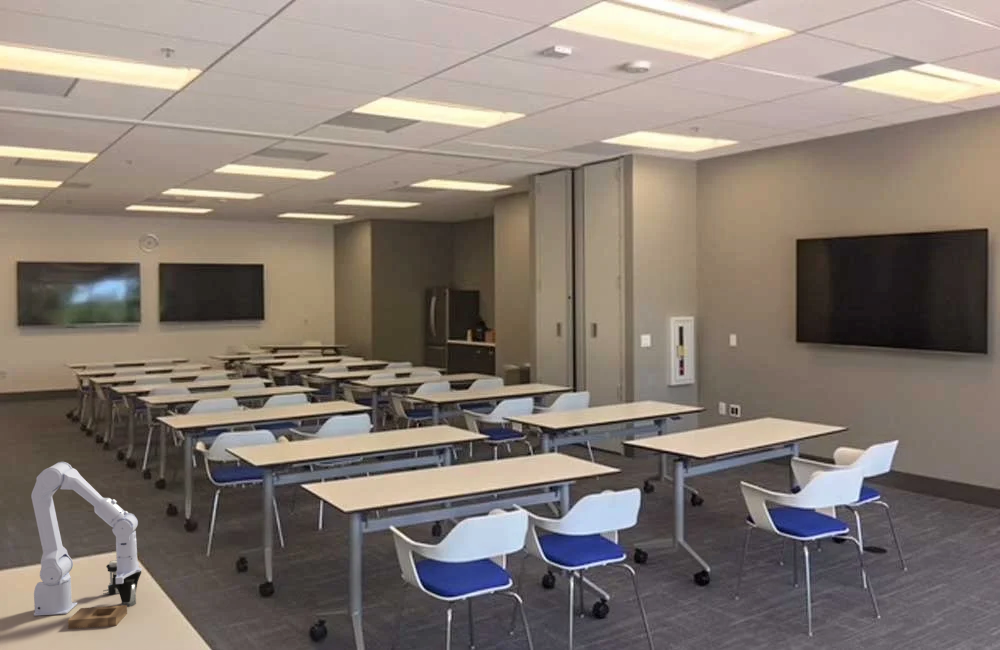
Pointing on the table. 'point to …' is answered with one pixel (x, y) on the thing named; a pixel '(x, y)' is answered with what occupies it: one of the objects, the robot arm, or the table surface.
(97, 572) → the table surface
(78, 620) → the jig
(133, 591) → the brushed metal cylinder
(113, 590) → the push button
